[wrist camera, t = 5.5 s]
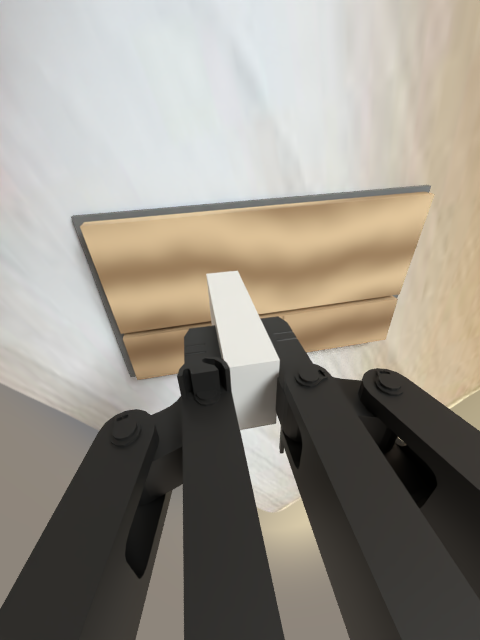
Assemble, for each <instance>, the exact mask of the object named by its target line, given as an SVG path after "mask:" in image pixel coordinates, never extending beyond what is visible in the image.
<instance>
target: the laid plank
mask: <svg viewBox="0 0 480 640" xmlns="http://www.w3.org/2000/svg"><path fill="white" fill-rule="evenodd" d="M397 300H398V299H397V298H395V297H394V296H384V297H377V298H370V299H363V300H356V301H349V302H342V303H335V304H328V305H321V306H314V307H307V308H300V309H293V310H286V311H279V312H272V313H264V314H258V315H259V317H260V318H268V317H276V316H279V317H280V318H282V319H283V320H285V321H286V322H287V323H288V324H289V326H290V327H291V329H292V332H294V334H295V335H296V337H297V339H298V340H299V342H300V344H301V345H302V347H303V348H304V350H305V352H312V351H318V350H324V349H330V348H336V347H342V346H348V345H355V344H361V343H367V342H373V341H379V340H385V339H386V336H387V333H388V330H389V326H390V323H391V320H392V316H393V313H394V310H395V307H396V303H397ZM205 326H212V323H211V321H208V322H201V323H194V324H187V325H180V326H173V327H166V328H159V329H152V330H144V331H137V332H130V333H124V336H123V341H124V344H125V347H126V349H127V352H128V355H129V358H130V361H131V363H132V366H133V369H134V372H135V375H136V377H137V380H141V379H147V378H153V377H159V376H165V375H171V374H177V373H178V372H179V369H180V368H181V367H182V366H183V364H184V336H185V335H186V333H187V331H188V330H189V328H197V327H205Z"/></svg>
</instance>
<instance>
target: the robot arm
mask: <svg viewBox="0 0 480 640" xmlns="http://www.w3.org/2000/svg"><path fill="white" fill-rule="evenodd" d="M206 276H207V285H208V295H209V304H210V314H211V323H212V326H205V327H197V328H189V330H188V331H187V333H186V335H185V336H184V364H183V366H182V367H181V368H180V369H179V372H178V375H177V378H178V383H179V387H180V392H181V397H180V398H179V399H178V400H177V401H176V402H175V403H174V404H173V405H171V406H170V407H168V408H166V409H164V410H162V411H160V412H158V413H155V414H153V415H150V414H148V413H147V412H146V411H142V410H137V409H136V410H128V411H124V412H122V413H120V414H117V415H115V416H114V417H113V418H111V419H110V420H109V421H107V422H106V423H105V424H104V426H103V427H102V428H101V430H100V431H99V432H98V434H97V436H96V438H95V440H94V441H93V443H92V445H91V447H90V449H89V450H88V452H87V454H86V456H85V458H84V459H83V461H82V463H81V465H80V467H79V468H78V470H77V472H76V474H75V476H74V477H73V479H72V481H71V483H70V485H69V487H68V488H67V490H66V492H65V494H64V495H63V497H62V499H61V501H60V503H59V504H58V506H57V508H56V510H55V512H54V513H53V515H52V517H51V519H50V521H49V522H48V524H47V526H46V528H45V530H44V531H43V533H42V535H41V537H40V539H39V541H38V542H37V544H36V546H35V548H34V549H33V551H32V553H31V555H30V557H29V558H28V560H27V562H26V564H25V566H24V567H23V569H22V571H21V573H20V575H19V576H18V578H17V580H16V582H15V584H14V585H13V587H12V589H11V591H10V593H9V595H8V596H7V598H6V600H5V602H4V604H3V605H2V607H1V609H0V640H135V639H136V635H137V631H138V627H139V623H140V619H141V614H142V611H143V607H144V603H145V599H146V595H147V590H148V587H149V583H150V578H151V574H152V570H153V566H154V562H155V558H156V554H157V550H158V546H159V541H160V538H161V534H162V530H163V526H164V521H165V518H166V514H167V509H168V506H169V501H170V497H171V493H172V490H173V489H175V488H176V487H178V486H180V485H181V484H183V549H184V551H183V554H184V640H285V639H284V634H283V630H282V625H281V620H280V616H279V611H278V606H277V602H276V597H275V592H274V587H273V583H272V578H271V573H270V569H269V564H268V559H267V555H266V550H265V545H264V541H263V536H262V531H261V527H260V522H259V517H258V513H257V508H256V503H255V498H254V494H253V489H252V484H251V480H250V475H249V470H248V466H247V461H246V456H245V452H244V447H243V442H242V438H241V433H240V430H243V429H248V428H254V427H259V426H265V425H270V424H276V414H277V416H278V418H279V421H280V424H281V432H280V444H279V448H280V454H281V453H284V449H285V451H286V454H287V457H288V460H289V463H290V466H291V469H292V472H293V475H294V478H295V481H296V483H297V486H298V489H299V492H300V495H301V498H302V501H303V504H304V507H305V510H306V513H307V515H308V518H309V521H310V524H311V527H312V530H313V533H314V536H315V539H316V542H317V545H318V547H319V550H320V553H321V556H322V559H323V562H324V565H325V568H326V571H327V574H328V577H329V579H330V582H331V585H332V588H333V591H334V594H335V597H336V600H337V603H338V606H339V608H340V611H341V614H342V617H343V620H344V623H345V626H346V629H347V632H348V635H349V638H350V640H480V431H479V430H477V429H476V428H474V427H473V426H472V425H470V424H469V423H468V422H466V421H465V420H463V419H462V418H461V417H459V416H458V415H456V414H455V413H454V412H453V411H451V410H450V409H448V408H447V407H446V406H444V405H443V404H442V403H440V402H439V401H438V400H436V399H435V398H433V397H432V396H431V395H429V394H428V393H427V392H425V391H424V390H422V389H421V388H420V387H418V386H417V385H416V384H414V383H413V382H411V381H410V380H409V379H407V378H406V377H404V376H402V375H401V374H399V373H397V372H394V371H391V370H388V369H379V368H377V369H372V370H369V371H367V372H366V373H365V374H364V376H363V378H362V381H359V380H349V379H340V378H334V377H332V376H331V375H330V374H329V373H328V372H327V371H326V369H324V368H322V367H320V366H319V365H316V364H313V363H312V361H311V360H310V358H309V357H308V355H307V353H306V352H305V350H304V348H303V347H302V345H301V344H300V342H299V340H298V339H297V337H296V335H295V334H294V332H292V329H291V327H290V326H289V324H288V323H287V322H286V321H285V320H283V319H282V318H280V317H279V316H276V317H268V318H260V317H259V315H258V313H257V310H256V308H255V306H254V304H253V302H252V300H251V298H250V296H249V294H248V291H247V289H246V287H245V285H244V283H243V281H242V279H241V277H240V274H239V272H238V271H229V272H219V273H209V274H206ZM398 437H399V438H400V439H401V440H402V441H401V440H400V439H399V438H398Z"/></svg>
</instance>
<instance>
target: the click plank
mask: <svg viewBox="0 0 480 640" xmlns="http://www.w3.org/2000/svg"><path fill="white" fill-rule="evenodd" d="M433 197H434V194H432V193H428V192H415V193H403V194H392V195H381V196H370V197H359V198H348V199H337V200H325V201H314V202H303V203H292V204H281V205H270V206H259V207H247V208H236V209H225V210H214V211H203V212H192V213H181V214H169V215H158V216H147V217H136V218H125V219H114V220H103V221H91V222H84V223H83V224H82V225H81V226H80V228H81V231H82V234H83V236H84V239H85V241H86V244H87V247H88V249H89V252H90V254H91V257H92V260H93V262H94V265H95V268H96V270H97V273H98V275H99V278H100V281H101V283H102V286H103V288H104V291H105V294H106V296H107V299H108V301H109V304H110V307H111V309H112V312H113V315H114V317H115V320H116V322H117V325H118V328H119V330H120V333H121V334H123V333H130V332H137V331H144V330H152V329H159V328H166V327H173V326H180V325H187V324H194V323H201V322H208V321H211V314H210V304H209V295H208V285H207V276H206V274H209V273H219V272H229V271H238V272H239V274H240V277H241V279H242V281H243V283H244V285H245V287H246V289H247V291H248V294H249V296H250V298H251V300H252V302H253V304H254V306H255V308H256V310H257V313H258V314H264V313H272V312H279V311H286V310H293V309H300V308H307V307H314V306H321V305H328V304H335V303H342V302H349V301H356V300H363V299H370V298H377V297H384V296H392V295H399V294H400V291H401V288H402V285H403V283H404V280H405V277H406V274H407V271H408V268H409V265H410V263H411V260H412V257H413V254H414V251H415V248H416V246H417V243H418V240H419V237H420V234H421V231H422V229H423V226H424V223H425V220H426V217H427V214H428V211H429V209H430V206H431V203H432V200H433Z"/></svg>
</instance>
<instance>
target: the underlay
mask: <svg viewBox="0 0 480 640" xmlns="http://www.w3.org/2000/svg"><path fill="white" fill-rule="evenodd" d="M430 188H431V186H429V185H423V186H411V187H400V188H388V189H376V190H365V191H353V192H342V193H330V194H319V195H307V196H296V197H284V198H272V199H261V200H249V201H238V202H226V203H215V204H203V205H191V206H180V207H168V208H157V209H145V210H134V211H122V212H111V213H99V214H87V215H76V216H72V217H71V218H72V221H73V223H74V226H75V229H76V231H77V234H78V237H79V240H80V242H81V245H82V248H83V250H84V253H85V256H86V258H87V261H88V264H89V266H90V269H91V272H92V274H93V277H94V280H95V282H96V285H97V288H98V290H99V293H100V296H101V299H102V301H103V304H104V307H105V309H106V312H107V315H108V317H109V320H110V323H111V325H112V328H113V331H114V333H115V336H116V339H117V341H118V344H119V347H120V350H121V352H122V355H123V358H124V360H125V363H126V366H127V368H128V371H129V374H130V376H131V377H135V376H136V375H135V372H134V369H133V366H132V363H131V361H130V358H129V355H128V352H127V349H126V347H125V344H124V341H123V336H124V333H123V334H121V333H120V330H119V328H118V325H117V322H116V320H115V317H114V315H113V312H112V309H111V307H110V304H109V301H108V299H107V296H106V294H105V291H104V288H103V286H102V283H101V281H100V278H99V275H98V273H97V270H96V268H95V265H94V262H93V260H92V257H91V254H90V252H89V249H88V247H87V244H86V241H85V239H84V236H83V234H82V231H81V228H80V226H81V225H82V224H83V223H84V222H91V221H103V220H114V219H125V218H136V217H147V216H158V215H169V214H181V213H192V212H203V211H214V210H225V209H236V208H247V207H259V206H270V205H281V204H292V203H303V202H314V201H325V200H337V199H348V198H359V197H370V196H381V195H392V194H403V193H415V192H428V193H429V191H430ZM392 296H394V297H395V298H397V297H398V295H392Z"/></svg>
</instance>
